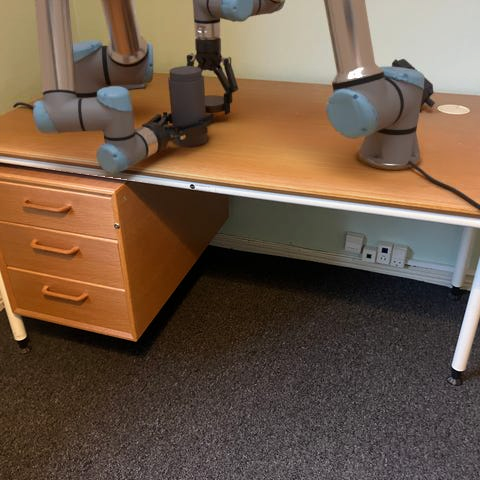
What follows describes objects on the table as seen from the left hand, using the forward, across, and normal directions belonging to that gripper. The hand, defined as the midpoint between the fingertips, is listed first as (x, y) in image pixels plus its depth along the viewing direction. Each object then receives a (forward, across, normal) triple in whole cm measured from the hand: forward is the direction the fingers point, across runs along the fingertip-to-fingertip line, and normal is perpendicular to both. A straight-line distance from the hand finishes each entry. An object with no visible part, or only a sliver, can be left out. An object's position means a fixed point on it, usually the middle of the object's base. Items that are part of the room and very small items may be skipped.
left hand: (197, 115), depth 153 cm
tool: (+53, +44, -6) cm, 69 cm away
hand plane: (+22, -58, -6) cm, 63 cm away
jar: (-4, 0, -6) cm, 8 cm away
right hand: (+13, -4, -3) cm, 14 cm away
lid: (+13, -4, 0) cm, 14 cm away
